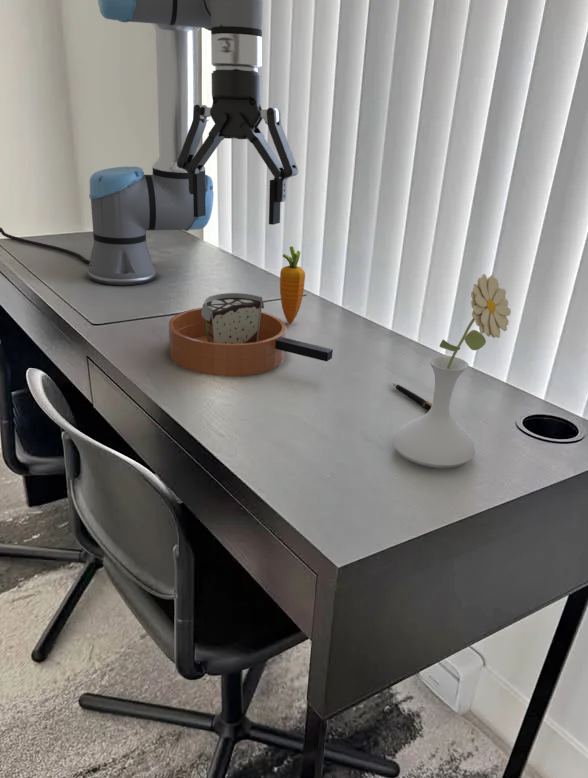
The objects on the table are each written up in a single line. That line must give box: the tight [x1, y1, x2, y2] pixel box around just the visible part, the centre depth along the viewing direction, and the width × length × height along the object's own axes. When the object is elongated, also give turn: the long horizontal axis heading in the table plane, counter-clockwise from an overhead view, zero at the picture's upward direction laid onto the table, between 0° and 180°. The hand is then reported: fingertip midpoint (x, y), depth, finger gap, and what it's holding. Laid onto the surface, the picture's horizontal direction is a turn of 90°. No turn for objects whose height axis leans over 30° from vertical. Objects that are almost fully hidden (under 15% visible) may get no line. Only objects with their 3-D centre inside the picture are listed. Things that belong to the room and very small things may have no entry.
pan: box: [168, 307, 287, 377], centre depth 125 cm, size 20×20×6 cm
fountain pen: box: [392, 382, 432, 412], centre depth 112 cm, size 14×1×2 cm, turn 29°
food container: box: [201, 292, 265, 344], centre depth 123 cm, size 12×6×10 cm, turn 135°
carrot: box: [279, 246, 306, 324], centre depth 139 cm, size 5×5×15 cm
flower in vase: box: [391, 273, 512, 469], centre depth 92 cm, size 13×11×25 cm
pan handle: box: [275, 337, 334, 362], centre depth 118 cm, size 10×2×2 cm, turn 62°
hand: (236, 220), depth 115 cm, fingers open, 13 cm apart
